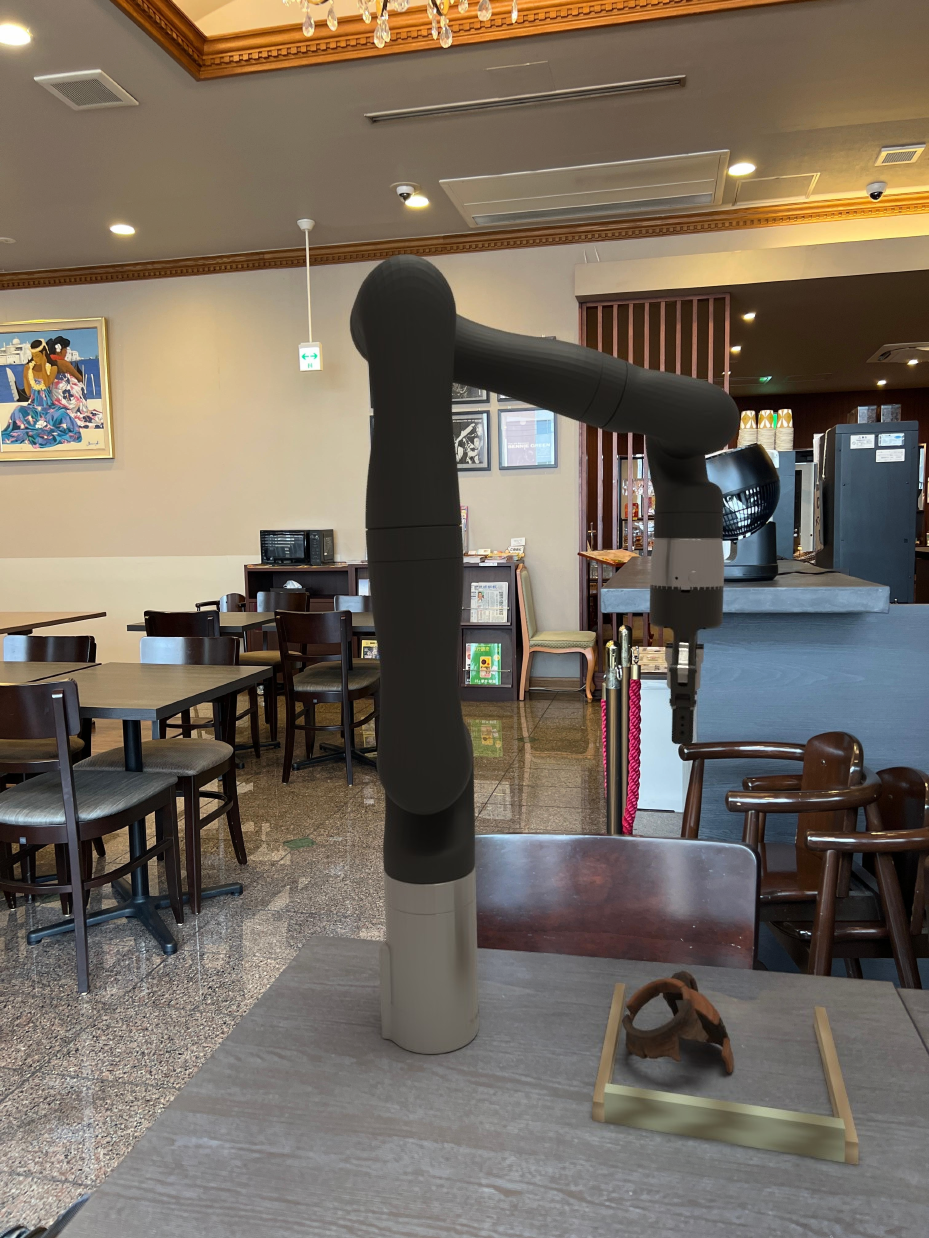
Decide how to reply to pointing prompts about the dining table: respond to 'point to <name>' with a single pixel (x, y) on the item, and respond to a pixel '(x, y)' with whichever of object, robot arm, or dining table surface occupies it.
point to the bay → (730, 1106)
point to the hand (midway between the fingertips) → (682, 742)
